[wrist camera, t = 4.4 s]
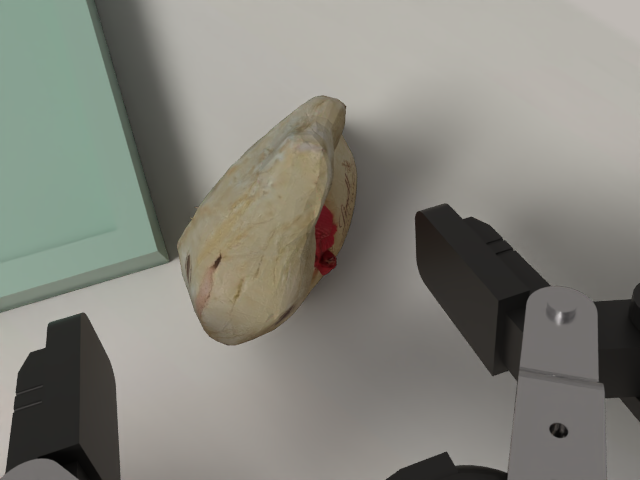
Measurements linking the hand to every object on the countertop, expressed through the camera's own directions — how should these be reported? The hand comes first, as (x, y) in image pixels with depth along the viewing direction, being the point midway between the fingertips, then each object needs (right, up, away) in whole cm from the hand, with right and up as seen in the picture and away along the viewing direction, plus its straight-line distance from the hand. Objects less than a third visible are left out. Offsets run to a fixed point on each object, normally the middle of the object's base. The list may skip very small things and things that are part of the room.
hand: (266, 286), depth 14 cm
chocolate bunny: (0, +1, +8) cm, 8 cm away
